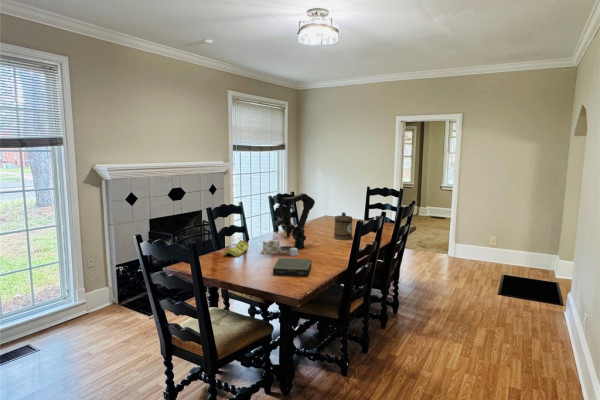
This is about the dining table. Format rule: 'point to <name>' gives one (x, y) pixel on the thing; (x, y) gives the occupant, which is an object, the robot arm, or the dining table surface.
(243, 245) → the curled yellow paper
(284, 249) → the mounted unit
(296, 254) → the grey block
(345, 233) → the wooden container
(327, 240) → the dining table surface
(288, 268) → the network switch
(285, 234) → the brass cylinder
